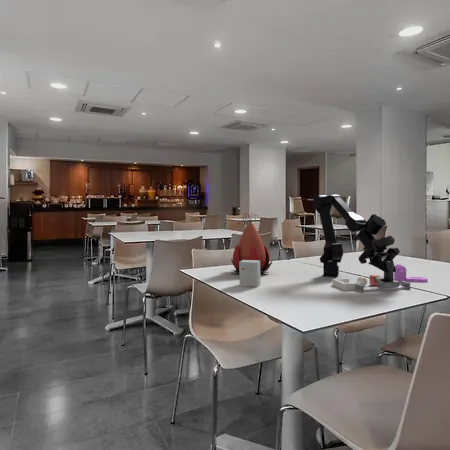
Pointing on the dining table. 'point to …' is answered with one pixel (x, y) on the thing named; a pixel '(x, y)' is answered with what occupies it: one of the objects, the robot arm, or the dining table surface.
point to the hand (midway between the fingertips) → (391, 272)
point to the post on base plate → (385, 277)
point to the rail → (366, 289)
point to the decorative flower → (251, 248)
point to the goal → (344, 284)
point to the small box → (249, 273)
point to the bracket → (401, 275)
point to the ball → (362, 281)
